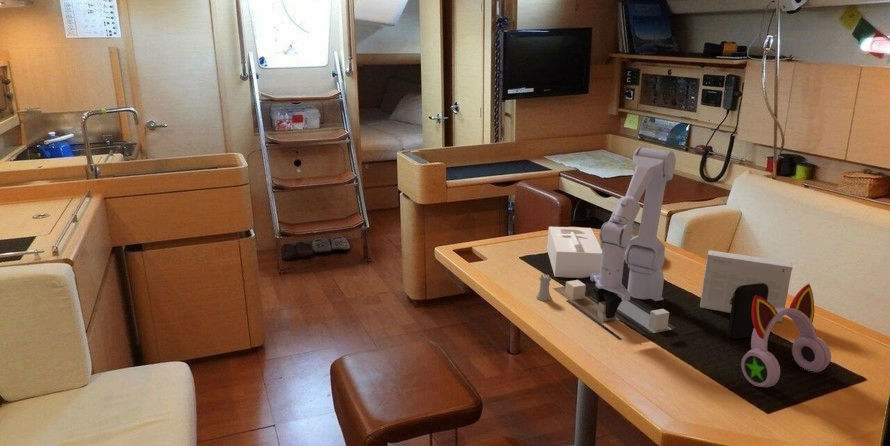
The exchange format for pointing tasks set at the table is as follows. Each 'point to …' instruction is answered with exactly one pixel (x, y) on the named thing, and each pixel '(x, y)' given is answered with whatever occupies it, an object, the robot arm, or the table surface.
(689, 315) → the table surface
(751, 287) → the carrying case or bag
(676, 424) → the table surface
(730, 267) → the skincare box
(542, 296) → the rook chess piece
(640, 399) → the table surface
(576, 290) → the cube
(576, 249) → the white rectangular block
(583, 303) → the strip
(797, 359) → the headphones
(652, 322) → the strip
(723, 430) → the table surface
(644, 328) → the lane rails
